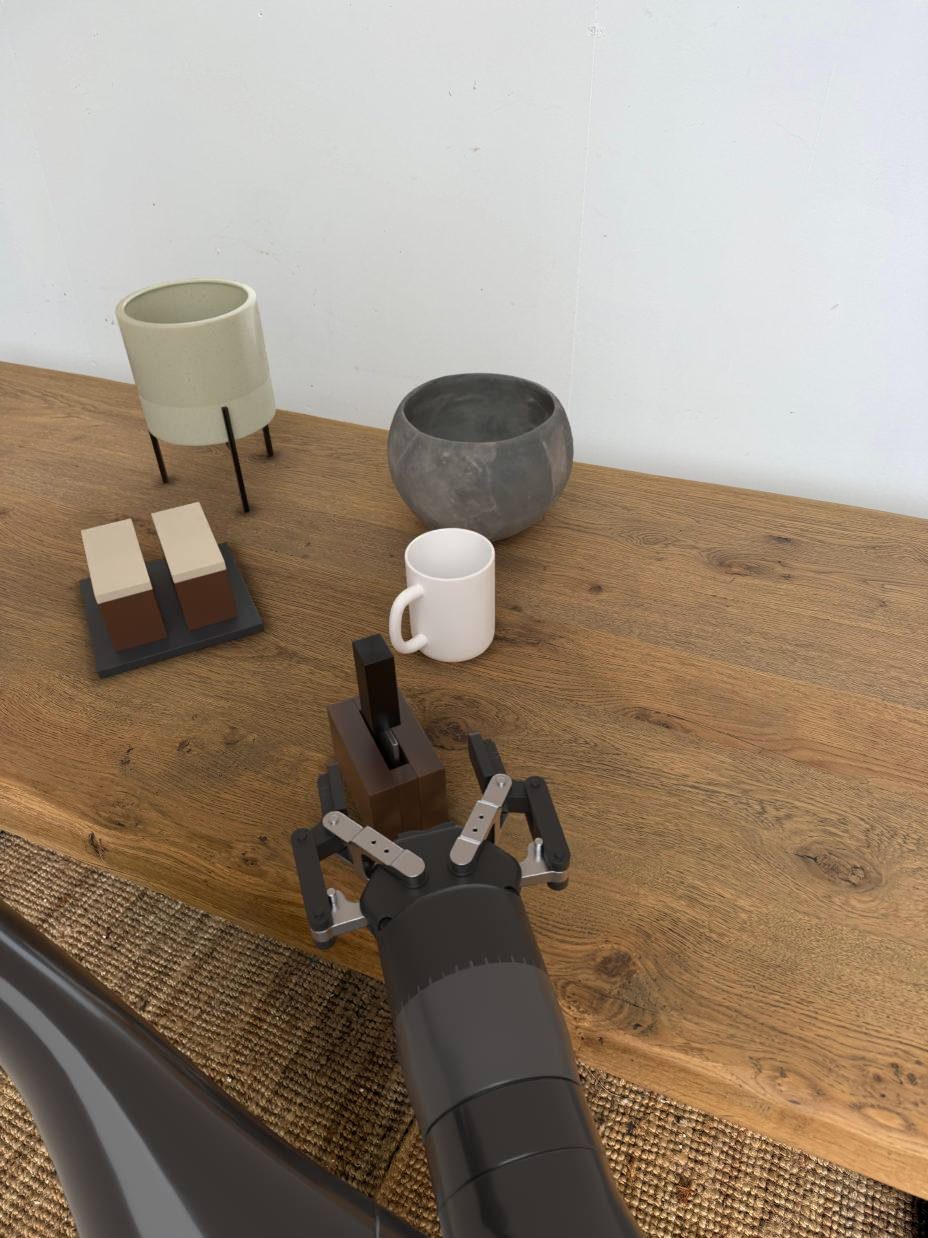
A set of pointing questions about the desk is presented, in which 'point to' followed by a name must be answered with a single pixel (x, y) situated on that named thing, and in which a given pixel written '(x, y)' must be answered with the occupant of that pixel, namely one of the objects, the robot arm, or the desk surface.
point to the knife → (378, 693)
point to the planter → (199, 364)
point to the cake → (162, 592)
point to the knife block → (386, 795)
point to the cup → (447, 596)
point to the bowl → (480, 453)
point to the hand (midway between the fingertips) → (404, 756)
